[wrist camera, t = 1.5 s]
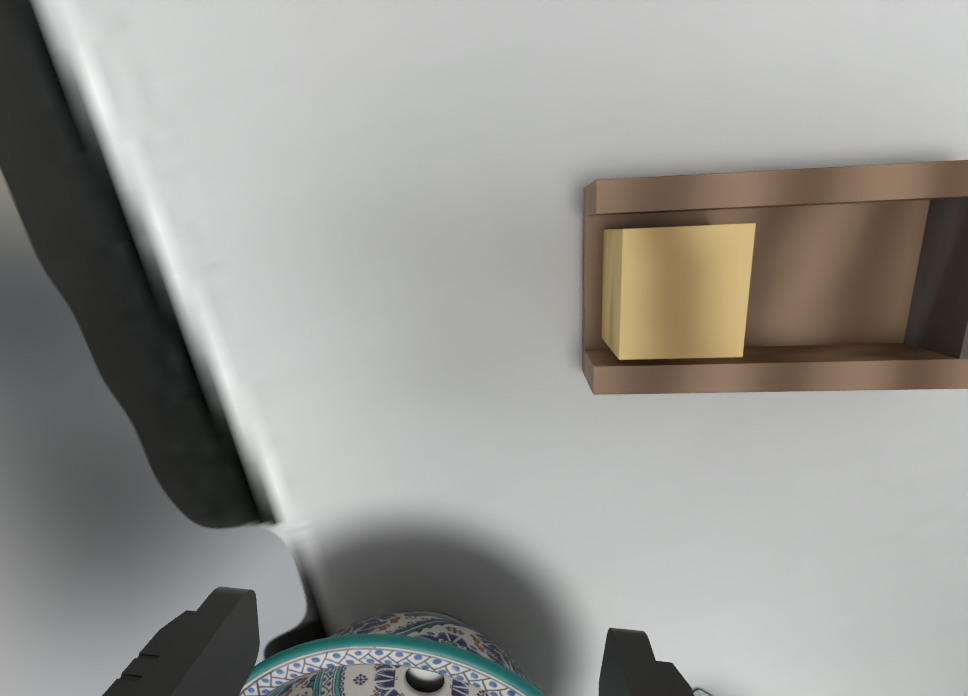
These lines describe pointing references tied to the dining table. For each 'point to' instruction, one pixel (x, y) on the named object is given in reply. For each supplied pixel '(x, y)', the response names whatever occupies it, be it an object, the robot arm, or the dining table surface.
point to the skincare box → (700, 693)
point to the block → (676, 290)
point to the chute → (807, 277)
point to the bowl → (392, 661)
